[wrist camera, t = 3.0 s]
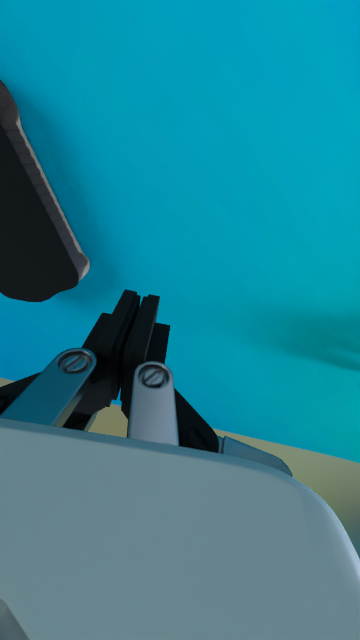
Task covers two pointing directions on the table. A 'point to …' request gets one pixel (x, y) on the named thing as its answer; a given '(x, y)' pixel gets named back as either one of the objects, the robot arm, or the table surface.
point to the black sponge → (31, 220)
